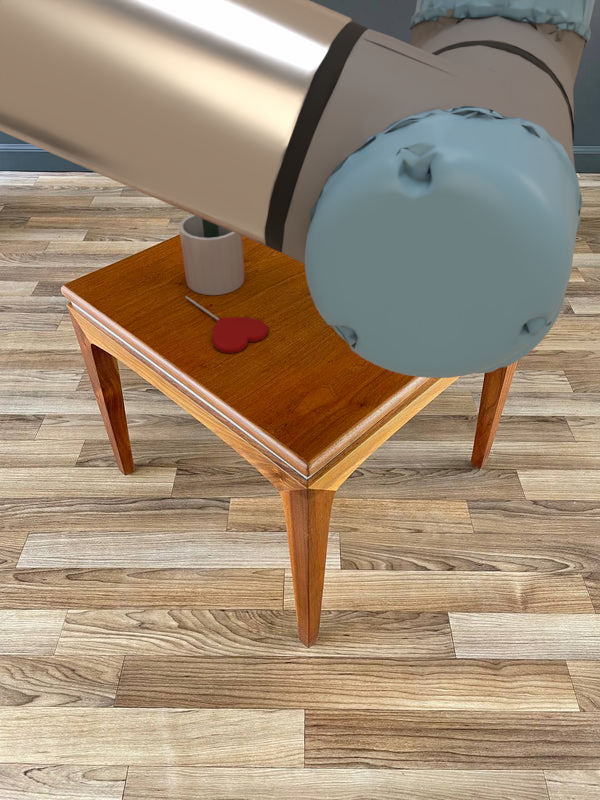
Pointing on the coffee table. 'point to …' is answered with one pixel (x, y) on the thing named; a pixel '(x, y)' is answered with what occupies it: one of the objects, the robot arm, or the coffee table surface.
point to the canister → (211, 258)
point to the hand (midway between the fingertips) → (252, 112)
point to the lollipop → (235, 332)
